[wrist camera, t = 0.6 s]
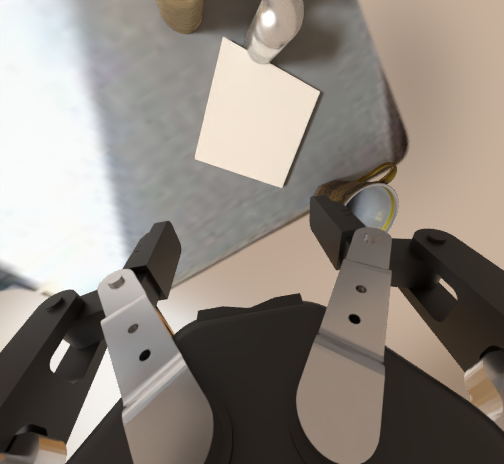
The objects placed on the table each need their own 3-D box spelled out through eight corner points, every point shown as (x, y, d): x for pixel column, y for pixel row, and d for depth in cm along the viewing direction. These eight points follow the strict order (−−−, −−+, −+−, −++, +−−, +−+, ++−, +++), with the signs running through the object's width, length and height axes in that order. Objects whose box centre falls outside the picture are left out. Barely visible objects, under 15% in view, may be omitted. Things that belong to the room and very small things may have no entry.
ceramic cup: (332, 231, 40) (369, 257, 31) (292, 214, 36) (322, 238, 27) (371, 169, 36) (426, 180, 28) (331, 143, 32) (380, 146, 24)
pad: (194, 158, 29) (194, 158, 28) (222, 40, 24) (223, 36, 23) (279, 186, 33) (282, 188, 33) (316, 93, 29) (319, 91, 28)
